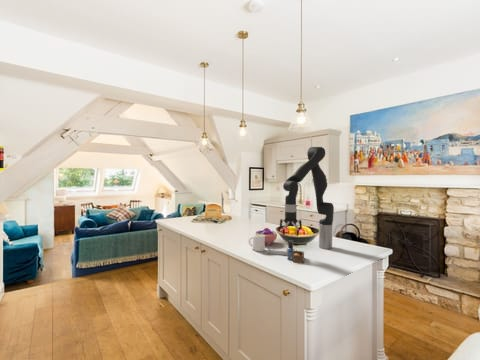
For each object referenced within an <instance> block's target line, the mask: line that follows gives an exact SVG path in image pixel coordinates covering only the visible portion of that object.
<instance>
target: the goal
mask: <svg viewBox="0 0 480 360" xmlns="http://www.w3.org/2000/svg"><path fill="white" fill-rule="evenodd" d="M295 253H298V254H299V255H300V256H299V255H293V256H292V263H298V264H305V251H301V250H297V251H296V250H295V251H294V254H295Z"/></svg>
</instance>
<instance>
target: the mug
mask: <svg viewBox="0 0 480 360" xmlns="http://www.w3.org/2000/svg"><path fill="white" fill-rule="evenodd" d="M248 238H249V239H248V244H249V246H250V247H252V251H254V252H263V251H265V249H266V248H265V247H266V246H265V245H266V244H265V235H262V234H256V233H255V234H253V235H252V236H250V237H248ZM251 240H252V241H251Z"/></svg>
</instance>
